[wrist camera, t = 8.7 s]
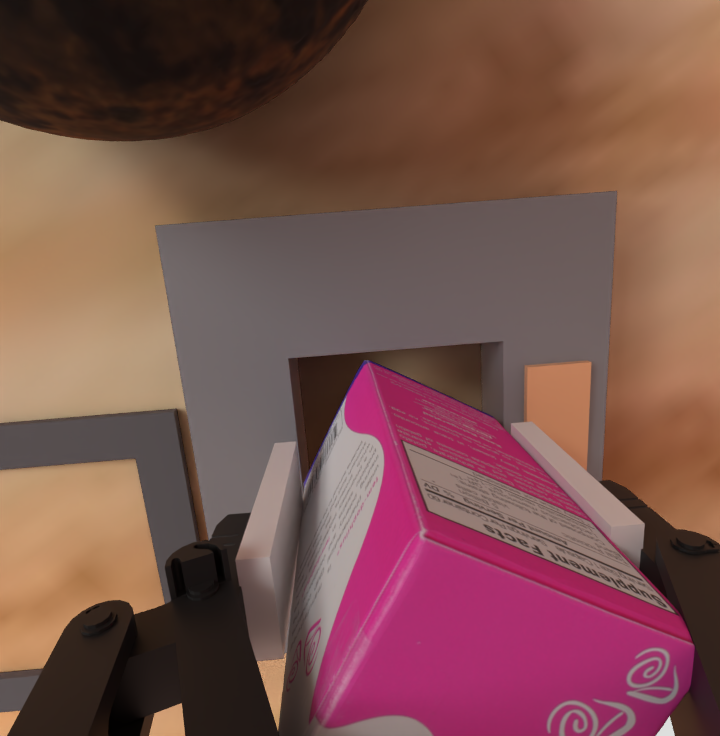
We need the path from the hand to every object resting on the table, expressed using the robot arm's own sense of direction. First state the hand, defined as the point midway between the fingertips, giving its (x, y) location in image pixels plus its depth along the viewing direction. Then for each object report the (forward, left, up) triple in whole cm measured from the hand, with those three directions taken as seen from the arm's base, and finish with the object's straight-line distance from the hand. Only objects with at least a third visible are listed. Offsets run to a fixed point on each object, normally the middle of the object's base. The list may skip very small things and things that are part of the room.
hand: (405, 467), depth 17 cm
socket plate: (0, 0, -5) cm, 5 cm away
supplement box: (0, 0, -2) cm, 2 cm away
